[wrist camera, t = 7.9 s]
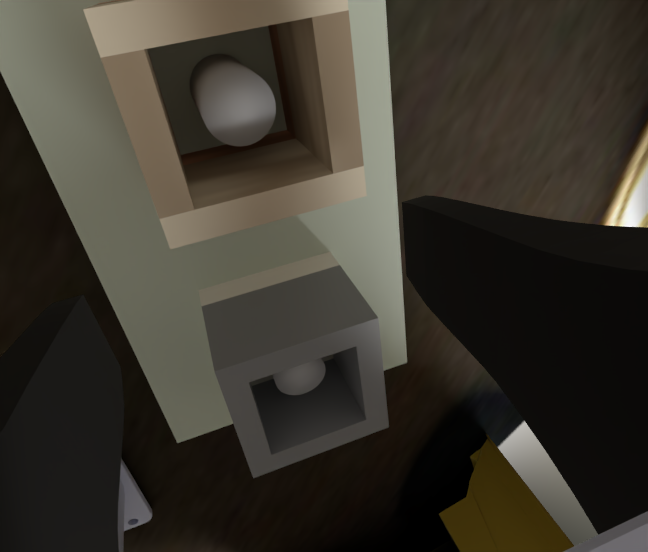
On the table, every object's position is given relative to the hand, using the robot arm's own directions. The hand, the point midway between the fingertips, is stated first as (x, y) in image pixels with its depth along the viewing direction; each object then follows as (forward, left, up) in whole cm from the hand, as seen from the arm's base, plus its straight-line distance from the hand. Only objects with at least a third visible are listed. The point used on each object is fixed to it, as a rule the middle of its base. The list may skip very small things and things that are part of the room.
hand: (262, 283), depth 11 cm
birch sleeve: (+1, +3, -8) cm, 8 cm away
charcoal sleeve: (+1, -7, -8) cm, 11 cm away
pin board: (+1, -2, -9) cm, 10 cm away
